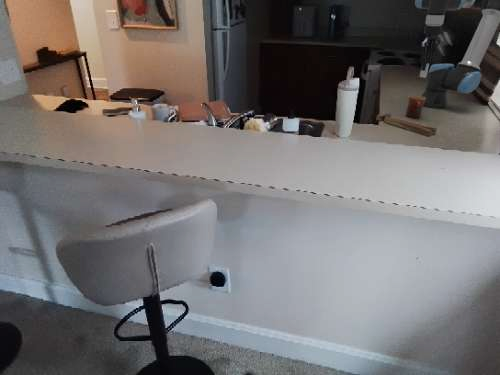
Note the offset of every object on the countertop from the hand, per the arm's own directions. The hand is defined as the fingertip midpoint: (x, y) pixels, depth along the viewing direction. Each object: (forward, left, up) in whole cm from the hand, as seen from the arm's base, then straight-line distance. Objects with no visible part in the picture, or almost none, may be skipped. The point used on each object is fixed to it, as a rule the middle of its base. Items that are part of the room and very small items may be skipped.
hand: (422, 77), depth 188 cm
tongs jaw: (+14, +8, -21) cm, 27 cm away
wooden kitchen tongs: (+16, +5, -21) cm, 27 cm away
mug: (-2, -1, -22) cm, 22 cm away
